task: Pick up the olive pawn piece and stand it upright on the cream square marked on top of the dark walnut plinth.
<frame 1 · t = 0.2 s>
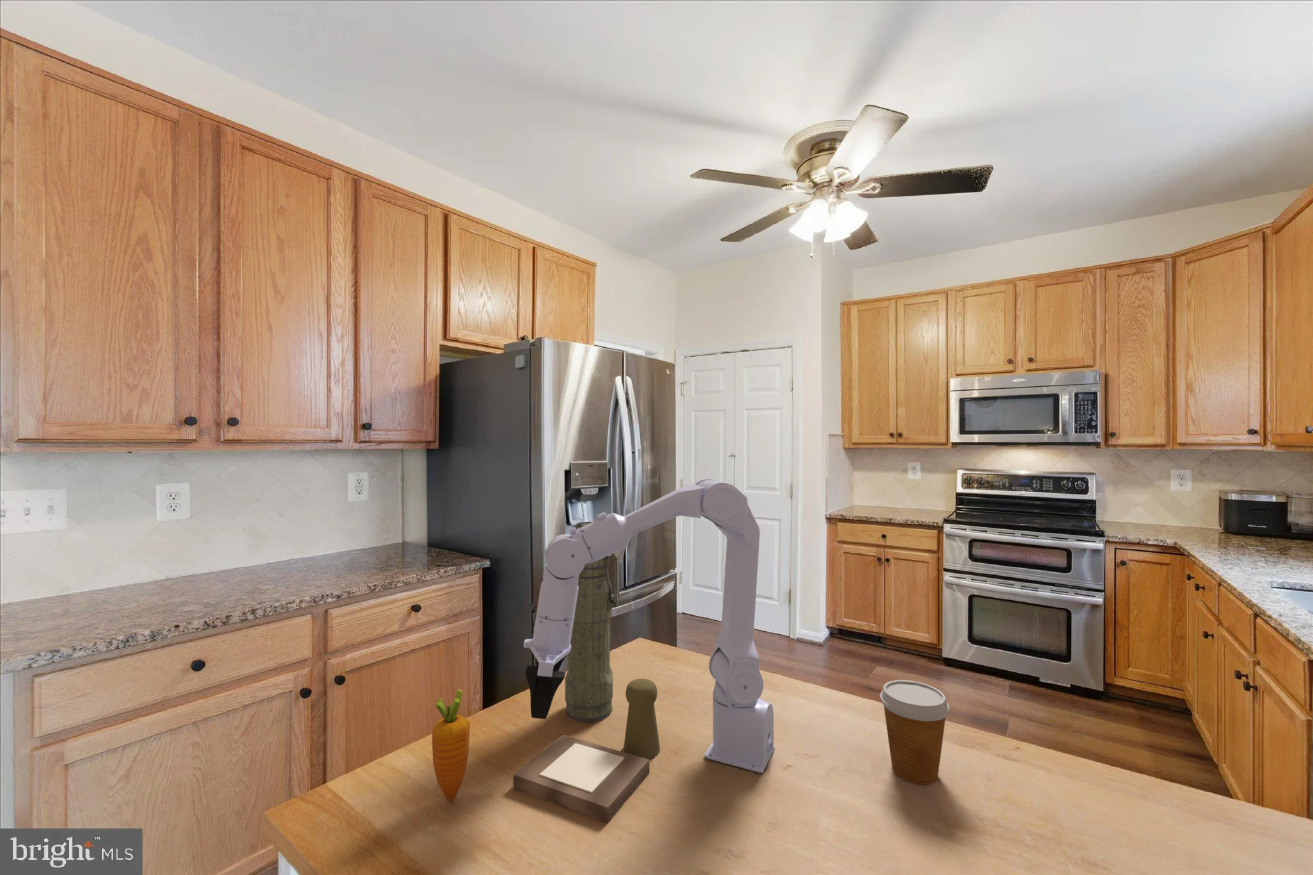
hand: (541, 704, 81), 10 cm above the countertop, tool pointing down, fingers open, 7 cm apart
olive pawn piece: (641, 750, 88), on the countertop
carrot: (451, 802, 75), on the countertop
thermos: (588, 711, 101), on the countertop
disposable coffee cup: (914, 772, 82), on the countertop
walnut plinth: (583, 780, 80), on the countertop
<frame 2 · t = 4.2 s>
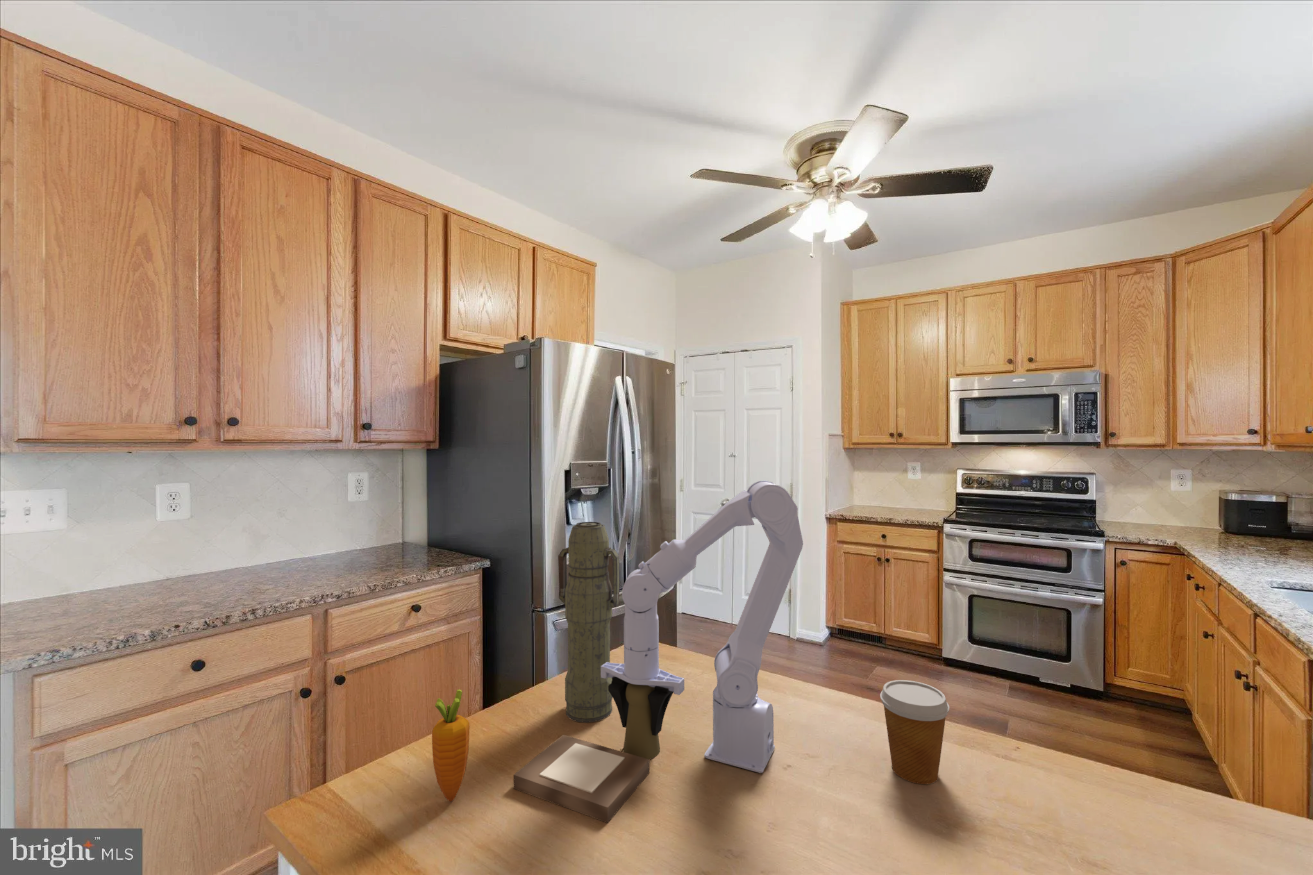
hand: (641, 728, 88), 3 cm above the countertop, tool pointing down, fingers closed on olive pawn piece, 5 cm apart
olive pawn piece: (641, 750, 88), on the countertop, touching gripper
everything else where it was.
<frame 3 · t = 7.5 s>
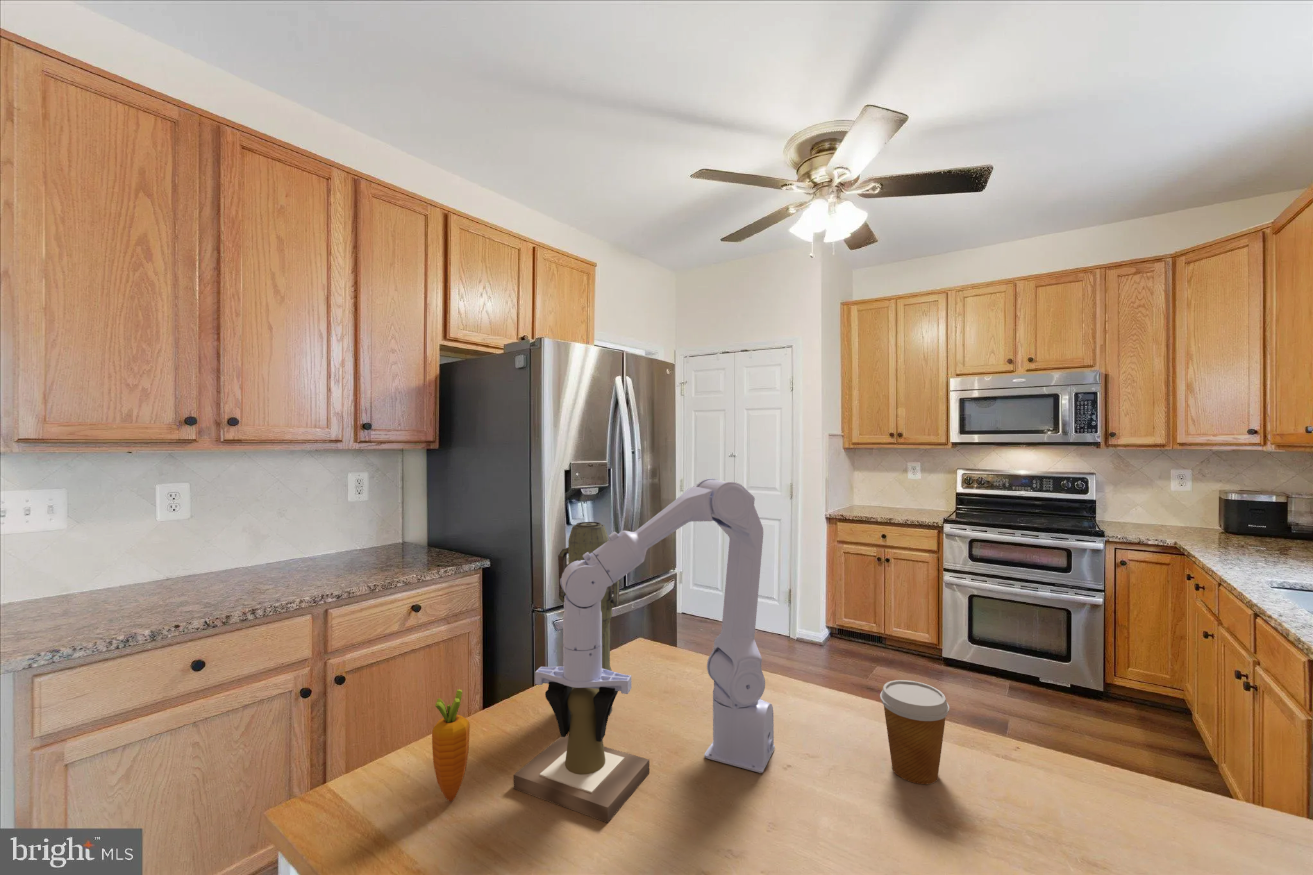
hand: (582, 735, 80), 7 cm above the countertop, tool pointing down, fingers closed on olive pawn piece, 5 cm apart
olive pawn piece: (585, 763, 81), point 2 cm above the countertop, touching gripper, walnut plinth
everything else where it was.
when the fingers open (7 cm above the countertop, at t = 7.5 s): olive pawn piece stays where it is, resting on walnut plinth.
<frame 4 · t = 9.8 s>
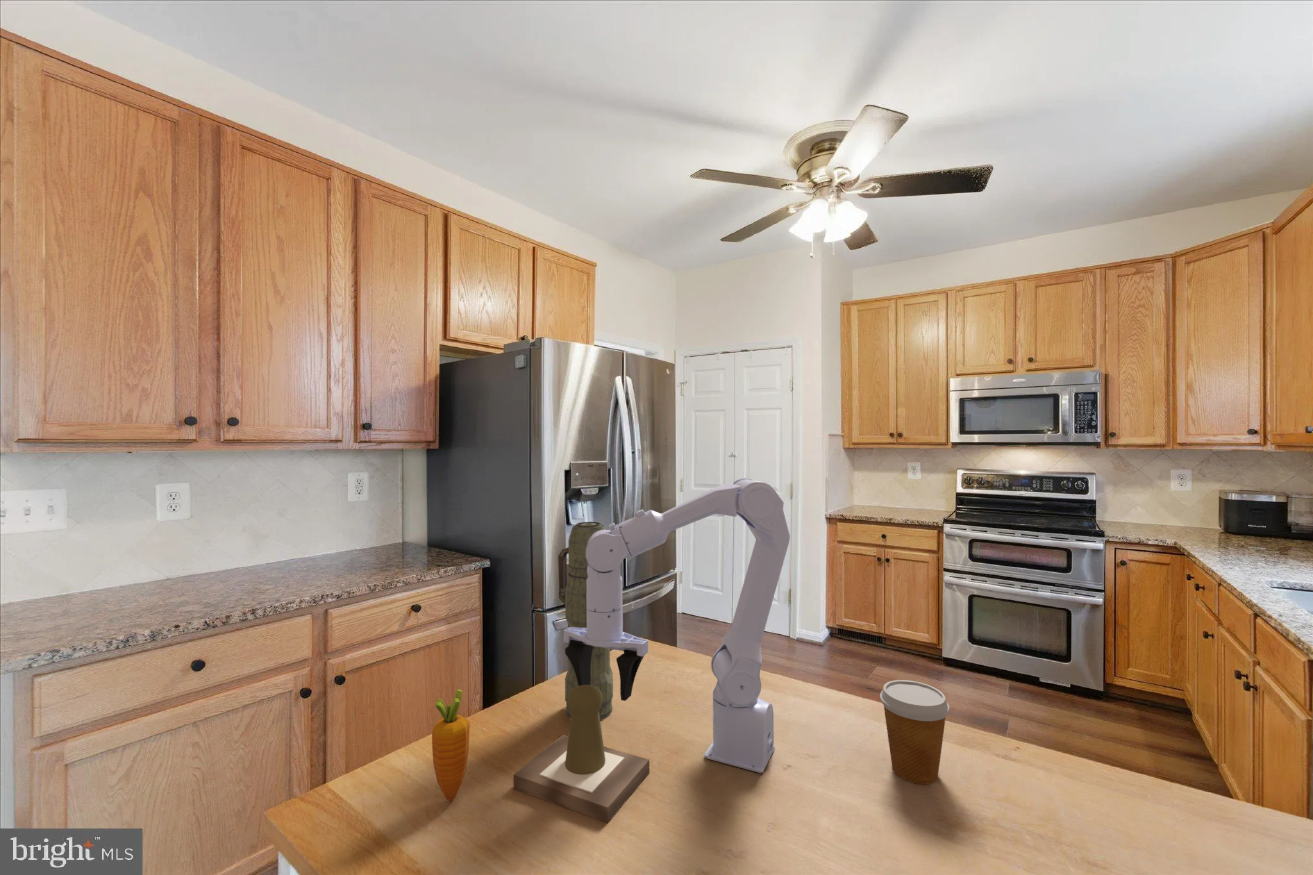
hand: (605, 693, 85), 10 cm above the countertop, tool pointing down, fingers open, 7 cm apart
olive pawn piece: (585, 763, 81), point 2 cm above the countertop, touching walnut plinth
everything else where it was.
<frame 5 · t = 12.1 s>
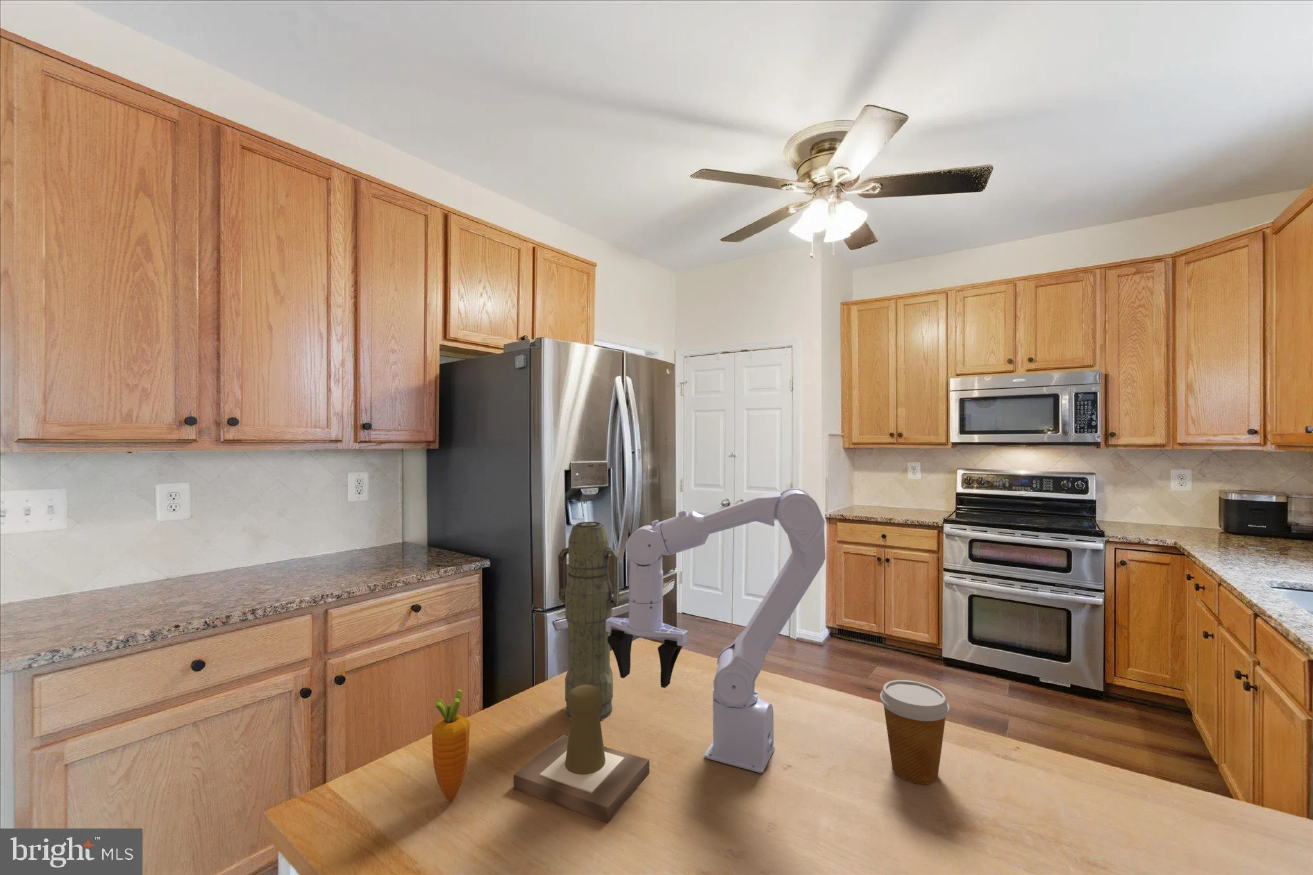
hand: (644, 680, 90), 10 cm above the countertop, tool pointing down, fingers open, 7 cm apart
nothing on the countertop moved.
at the end: olive pawn piece inside the target area on the walnut plinth (0.8 cm from its centre), point 2.0 cm above the walnut plinth's base; olive pawn piece tilted 0°; the gripper is holding nothing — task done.
